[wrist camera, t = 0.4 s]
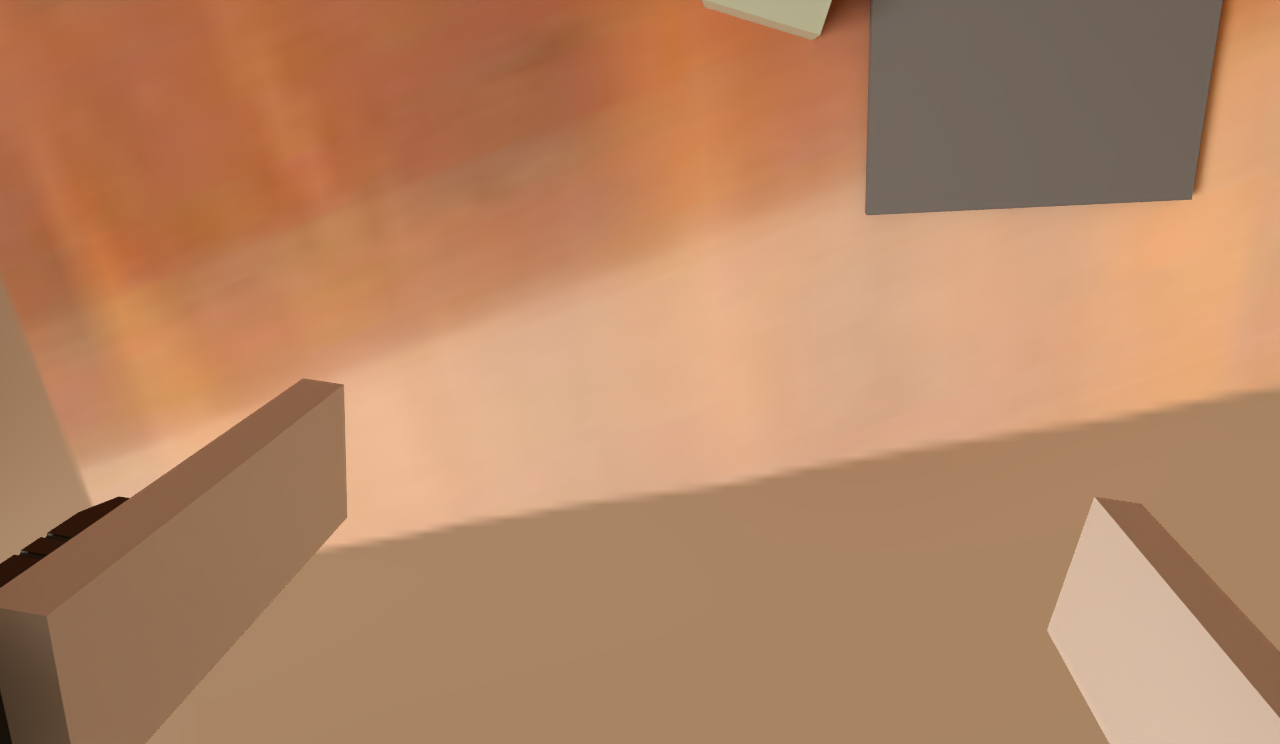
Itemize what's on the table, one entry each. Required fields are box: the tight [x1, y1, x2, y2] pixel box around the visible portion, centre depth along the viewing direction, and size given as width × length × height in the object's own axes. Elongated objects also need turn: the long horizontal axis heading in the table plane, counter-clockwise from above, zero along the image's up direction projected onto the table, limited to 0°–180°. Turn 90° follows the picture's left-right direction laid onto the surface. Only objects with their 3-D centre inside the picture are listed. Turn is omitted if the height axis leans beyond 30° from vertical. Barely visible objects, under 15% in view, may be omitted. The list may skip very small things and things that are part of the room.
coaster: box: [865, 0, 1223, 215], centre depth 35 cm, size 14×14×1 cm
